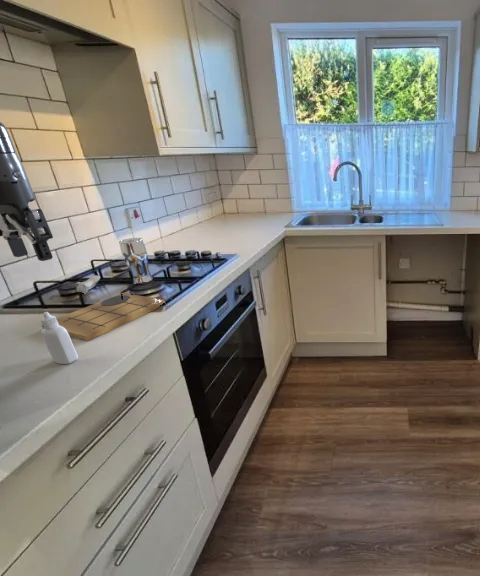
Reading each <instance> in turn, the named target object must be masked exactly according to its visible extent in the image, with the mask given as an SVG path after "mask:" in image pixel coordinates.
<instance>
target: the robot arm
mask: <svg viewBox="0 0 480 576" xmlns="http://www.w3.org/2000/svg"><path fill="white" fill-rule="evenodd" d="M34 201H36V196H35V194H34V191H33V188H32V185H31V183H30V180H29V178H28V175H27V172H26V169H25V167H24V164H23V163H22V161H21V159H20V158H19V155H18V153H17V151H16V148H15V146H14V143H13V141H12V138H11V135H10V132H9V131H8V129H7V127H6V125H5V124H4V123H2V122H1V121H0V237H2V239H4V241H7V244H8V246H9V249H10V251H11V253H12V255H13V256H12V257H15V258H21V257H26V256H27V255H28V254H29V252H28V250H27V247H26V245H25V242H24V240H23V238H22V235H23V236H25V237H26V238H27V239H28V240H29V241H30V243H31V246H32V247H33V251H34V252H35V256H36V257H37V260H38V261H41V262H45V261H49V260H52V259H53V257H54V256H53V254H52V252H51V251H52V250H51V248H50V246H49V244H48V241H49V240H51V239H53V238H54V236H53V233H52V231H51V228H50V226H49V223H48V220H47V218H46V217H45V214H44V212H43V209H41V208H36V209H35V208H34V209H32V208H31V207H30V205H29V203H31V202H34Z"/></svg>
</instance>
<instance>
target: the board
mask: <svg viewBox="0 0 480 576" xmlns="http://www.w3.org/2000/svg"><path fill="white" fill-rule="evenodd" d="M121 294H123V295H122V296H123V300H122V299H121ZM131 294H132V293H127V292H121V293H119V294H115V295H114V296H111V297H109V298H105V299H103V300H101V301H98V302H96V303H93V304H91V305H88V306H86V307H85V306H84V307H82V308H80V309H78V310H75V311H72V312H70V313H68V314H64V315H62V316H59V317H58V318H57V317H56V319H57V321H58V324H59V325H60V326H62V327H64V328H65V329H66V330H67V332H68V334H69V336H70V338H73V339H76V340H77V339H78V340H81V341H85V342H89V341H91V340H93V339H95V338H98V337H99V336H102V335H103V334H106V333H108V332H111V331H112V330H115V329H117V328H119V327H121V326H123V325H126V324H127V323H130V322H132V321H134V320H136V319H138V318H140V317H143V316H144V315H147V314H148V313H151V312H153V311H155V310H158V309H159V308H160V307H159V306H160V305H162V304H163V303H165V304H166V301H165V300H164V299H160V298H155V297H150V296H149V297H148V296H144V295H138V294H133V295H131ZM158 307H159V308H158ZM41 327H42V330H43V329H44V326H43V324H42V323H41Z"/></svg>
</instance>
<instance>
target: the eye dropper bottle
mask: <svg viewBox="0 0 480 576" xmlns="http://www.w3.org/2000/svg"><path fill="white" fill-rule="evenodd" d="M40 322H41V325H42V324H43V326H44V329H43V328H42V329H41V331H40V334H41V337H42V339H43V342H44V344H45V346H46V348H47V350H48V352H49V354H50V356H51V359H52V361H53V362H54V363H56V364H58V365H68V364H72V363H73V362H76V361H77V360H78V359H79V355H78V352H77V351H76V348H75V346H74V344H73V341H72V339H71V337H70V336H69V334H68V332H67V330H66V329H65V328H64V327H62V326H60V325H59V324H58V321H57V317H56V315H51V314H50V313H49V312H48V311H45V312H43V318H41V319H40Z"/></svg>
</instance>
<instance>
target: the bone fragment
mask: <svg viewBox="0 0 480 576" xmlns="http://www.w3.org/2000/svg"><path fill="white" fill-rule="evenodd" d="M100 279H101V277H100V276H99V275H92V276H91V277H90V278H88V279H86V280H84V281H82V282H81V281H77V282H76V283H75V284H74V286H75V289H76V292H77V293H78V292H82V293H84V295H86V294H87V293H88V292H89V290H92V289H93V288H94V287H95V286H96V285H97V284H98V282H99V281H100Z"/></svg>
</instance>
